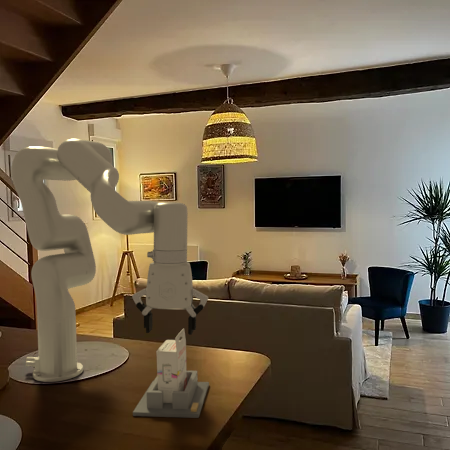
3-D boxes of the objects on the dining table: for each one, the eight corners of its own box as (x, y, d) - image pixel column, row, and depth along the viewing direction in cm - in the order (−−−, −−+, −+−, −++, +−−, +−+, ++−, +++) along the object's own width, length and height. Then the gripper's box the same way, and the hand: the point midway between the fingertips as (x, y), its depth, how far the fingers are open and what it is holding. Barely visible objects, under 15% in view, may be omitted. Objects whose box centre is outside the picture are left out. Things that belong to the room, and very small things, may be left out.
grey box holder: (132, 415, 95) (132, 395, 95) (153, 383, 112) (152, 366, 112) (198, 417, 94) (198, 397, 94) (208, 385, 111) (208, 368, 111)
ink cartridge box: (167, 387, 108) (165, 326, 107) (187, 388, 107) (186, 327, 107) (156, 403, 99) (155, 337, 99) (178, 404, 99) (177, 337, 98)
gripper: (127, 258, 99) (127, 335, 100) (206, 260, 97) (205, 338, 98) (137, 254, 106) (137, 326, 107) (210, 256, 105) (209, 328, 106)
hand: (170, 332), depth 103 cm, fingers open, 9 cm apart
